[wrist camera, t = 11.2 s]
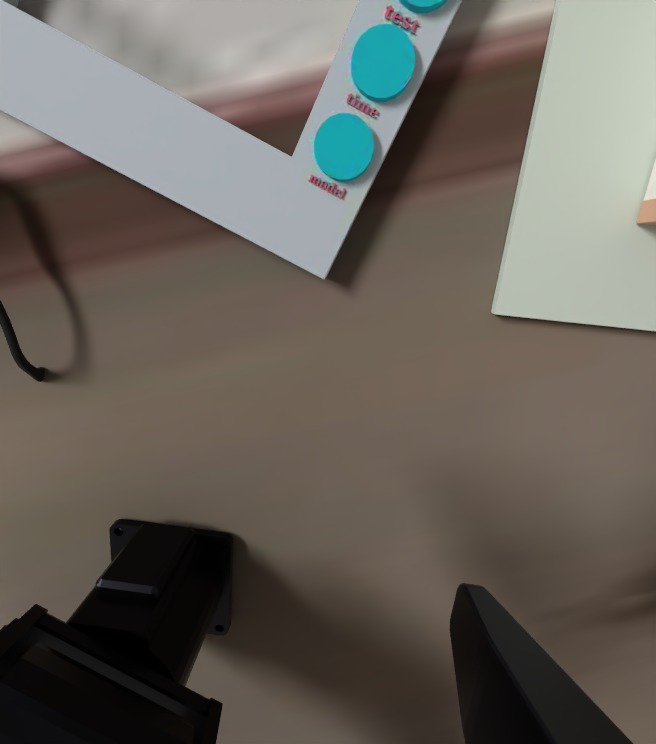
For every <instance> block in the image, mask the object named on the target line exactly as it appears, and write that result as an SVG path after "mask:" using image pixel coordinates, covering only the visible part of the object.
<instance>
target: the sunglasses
mask: <svg viewBox="0 0 656 744" xmlns="http://www.w3.org/2000/svg"><path fill="white" fill-rule="evenodd" d="M0 325H1V327H2V329H3V332H4V334H5V337H6V340H7V343H8V345H9V348H10V351H11V354H12V356H13V358H14V360H15V362H16V363H17V365H18V366H19V367H20V368H21V369H22V370H23V371H25V372H26V373H27V374H29V375H30V376H31V377H33V378H34V379H35V380H37V381H39V382H41V381H42V380H43V375H44V368H43V367H39V368H36V367H34V366H33V365H31V364H30V363H29V362H28V361H27V359H26V358H25V356H24V355H23V353H22V352H21V349H20V347H19V344H18V341H17V338H16V335H15V332H14V329H13V327H12V324H11V322H10V319H9V317H8V315H7V313H6V311H5V309H4V307H3V304H2V302H1V301H0Z"/></svg>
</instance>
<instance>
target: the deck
mask: <svg viewBox="0 0 656 744" xmlns="http://www.w3.org/2000/svg"><path fill="white" fill-rule="evenodd" d="M636 223H637V224H647V225H656V160H655V163H654V166H653V170H652V173H651V177H650V180H649V184H648V187H647V191H646V194H645V198H644V201H642V205H641V208H640V212H639V215H638V219H637V222H636Z"/></svg>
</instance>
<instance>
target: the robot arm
mask: <svg viewBox="0 0 656 744" xmlns="http://www.w3.org/2000/svg"><path fill="white" fill-rule="evenodd" d="M119 528H121V529H122V530H123V531H121V530H120V529H119ZM220 542H224V543H225V544H226V545H224V544H221V543H220ZM233 543H234V542H233V538H232V537H231V535H229V534H228V533H224V532H216V531H209V530H201V529H194V528H186V527H179V526H171V525H164V524H156V523H149V522H141V521H133V520H126V519H118V520H116V521H115V522H114V524H113V525H112V526H111V527H110V546H111V561H112V562H111V564H110V565H109V566H108V567H107V569H106V570H105V571H104V572H103V574H102V575H101V576H100V577H99V579H98V580H97V582H96V586H95V587H94V588H93V589H92V591H91V592H90V593H89V594H88V596H87V597H86V598H85V599H84V601H83V602H82V603H81V604H80V606H79V607H78V608H77V609H76V611H75V612H74V613H73V614H72V616H71V617H70V618H69V619H68V621H67V622H66V623H65V622H63V621H61V620H60V619H58V618H56V617H54V616H52V615H50V614H48V613H47V612H48V610H47V609H45V608H43V607H41V606H39V605H38V604H35V605H34V606H33V607H32V608H31V609H30V610H28V611H27V612H26V613H25V614H24V615H23V616H22V617H21V618H20V619H17V618H15V619H14V620H13V621H12V622H11V623H10V624H8V625H5V626H4V627H3V628H2V629H1V630H0V744H216V739H217V733H218V728H219V722H220V716H221V711H222V703H220V702H219V701H217V700H215V699H213V698H210V699H207V698H205V697H204V696H202V695H200V694H198V693H196V692H194V691H192V690H190V689H189V688H187V687H185V686H186V683H187V681H188V678H189V676H190V673H191V671H192V668H193V666H194V663H195V661H196V658H197V656H198V653H199V651H200V648H201V646H202V643H203V641H204V638H205V636H206V634H214V635H225V634H226V633H227V632H228V630H229V627H230V624H231V597H232V570H233ZM221 625H222V626H221ZM450 636H451V644H452V652H453V659H454V667H455V675H456V682H457V690H458V698H459V706H460V713H461V720H462V727H463V733H464V738H465V743H466V744H633V743H632V742H631V741H630V740H629V739H628V738H627V737H626V736H625V734H624V733H623V732H622V731H621V730H620V729H619V728H618V727H617V726H616V725H615V724H614V723H613V722H612V721H611V720H610V719H609V718H608V717H607V716H606V715H605V714H604V712H603V711H602V710H601V709H600V708H599V707H598V706H597V705H596V704H595V703H594V702H593V701H592V700H591V699H590V698H589V697H588V696H587V695H586V694H585V693H584V691H583V690H582V689H581V688H580V687H579V686H578V685H577V684H576V683H575V682H574V681H573V680H572V679H571V678H570V677H569V676H568V675H567V674H566V673H565V672H564V670H563V669H562V668H561V667H560V666H559V665H558V664H557V663H556V662H555V661H554V660H553V659H552V658H551V657H550V656H549V655H548V654H547V653H546V652H545V651H544V649H543V648H542V647H541V646H540V645H539V644H538V643H537V642H536V641H535V640H534V639H533V638H532V637H531V636H530V635H529V634H528V633H527V632H526V631H525V630H524V628H523V627H522V626H521V625H520V624H519V623H518V622H517V621H516V620H515V619H514V618H513V617H512V616H511V615H510V614H509V613H508V612H507V611H506V610H505V609H504V607H503V606H502V605H501V604H500V603H499V602H498V601H497V600H496V599H495V598H494V597H493V596H492V595H491V594H490V593H489V592H488V591H487V590H486V589H485V588H484V587H482V586H480V585H473V584H466V583H462V584H460V585H459V587H458V588H457V592H456V596H455V601H454V605H453V609H452V613H451V618H450Z"/></svg>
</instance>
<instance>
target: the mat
mask: <svg viewBox="0 0 656 744" xmlns="http://www.w3.org/2000/svg"><path fill="white" fill-rule="evenodd" d="M655 160H656V0H556V3H555V8H554V13H553V18H552V22H551V27H550V32H549V37H548V42H547V46H546V51H545V56H544V61H543V66H542V70H541V75H540V80H539V85H538V89H537V94H536V99H535V104H534V109H533V113H532V118H531V123H530V128H529V133H528V137H527V142H526V147H525V152H524V156H523V161H522V166H521V171H520V176H519V180H518V185H517V190H516V195H515V200H514V204H513V209H512V214H511V219H510V223H509V228H508V233H507V238H506V243H505V247H504V252H503V257H502V262H501V267H500V271H499V276H498V281H497V286H496V290H495V295H494V300H493V305H492V310H491V313H493V314H497V315H506V316H516V317H525V318H534V319H544V320H553V321H563V322H572V323H582V324H591V325H601V326H610V327H620V328H629V329H639V330H648V331H656V225H647V224H637V223H636V222H637V219H638V215H639V212H640V208H641V205H642V201H644V198H645V194H646V191H647V187H648V184H649V180H650V177H651V173H652V170H653V166H654V163H655Z"/></svg>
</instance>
